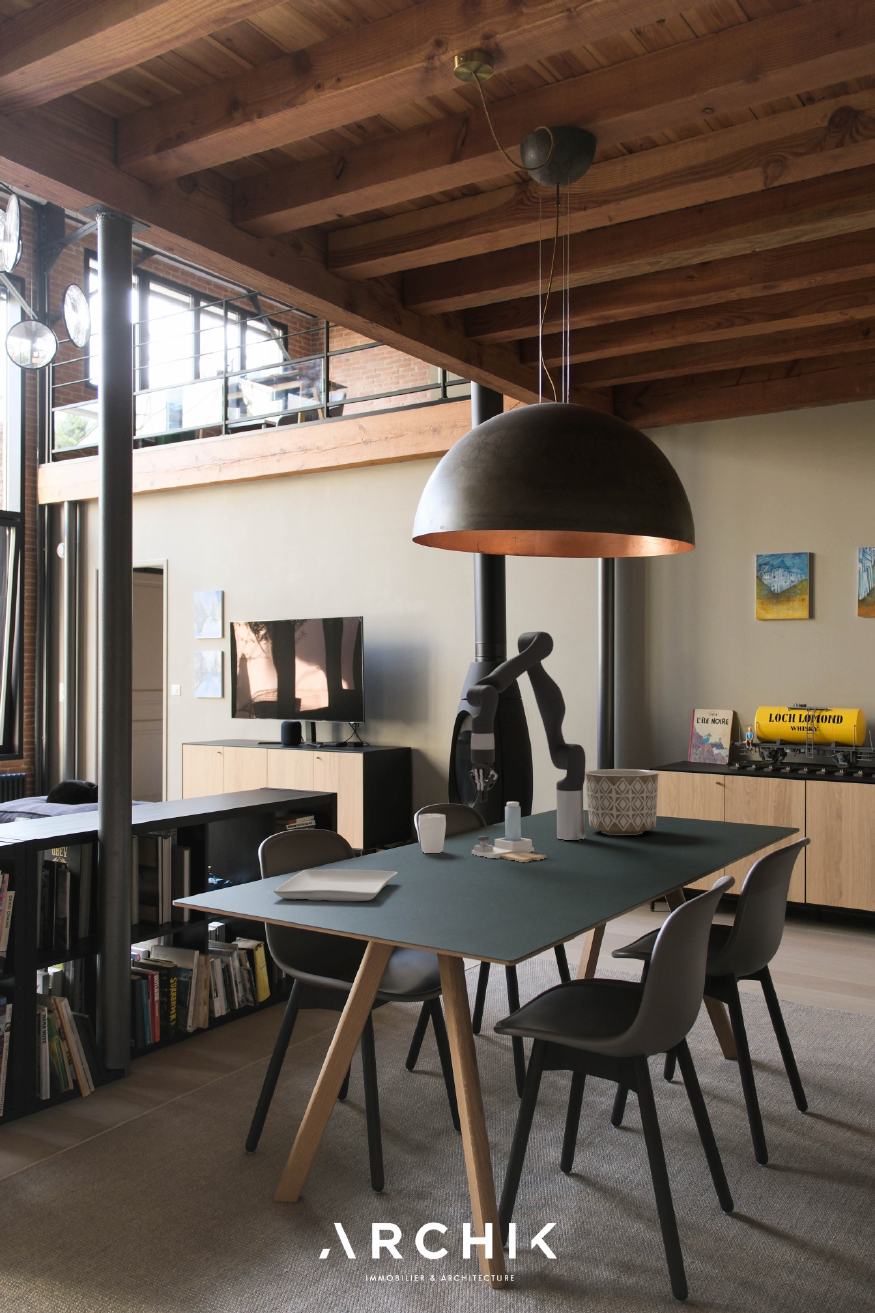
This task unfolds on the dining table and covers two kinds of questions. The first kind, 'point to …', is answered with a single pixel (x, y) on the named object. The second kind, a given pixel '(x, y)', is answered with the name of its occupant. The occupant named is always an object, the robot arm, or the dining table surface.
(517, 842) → the housing
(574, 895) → the dining table surface
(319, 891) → the square plate
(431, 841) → the cup
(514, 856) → the coaster
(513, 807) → the bottle
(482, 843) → the plunger
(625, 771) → the planter
